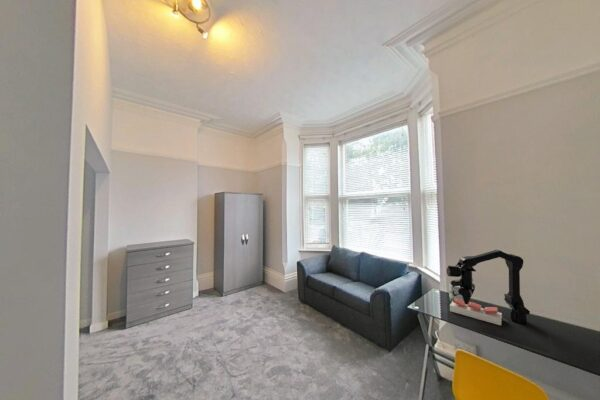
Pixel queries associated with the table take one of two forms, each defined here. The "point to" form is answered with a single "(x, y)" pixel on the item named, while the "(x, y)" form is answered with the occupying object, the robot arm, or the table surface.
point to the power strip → (477, 313)
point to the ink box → (454, 293)
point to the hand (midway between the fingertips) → (467, 302)
